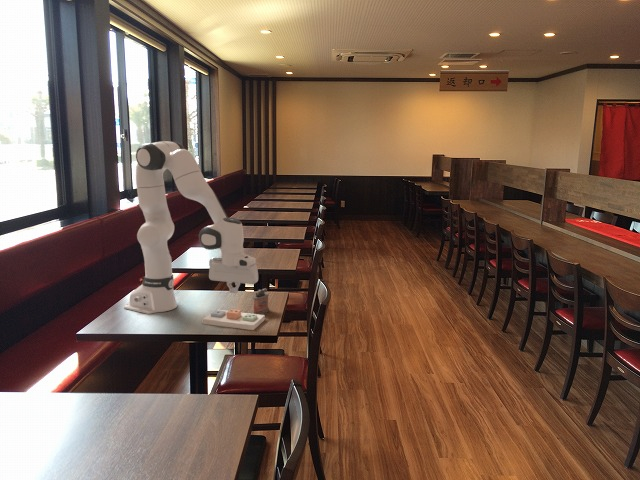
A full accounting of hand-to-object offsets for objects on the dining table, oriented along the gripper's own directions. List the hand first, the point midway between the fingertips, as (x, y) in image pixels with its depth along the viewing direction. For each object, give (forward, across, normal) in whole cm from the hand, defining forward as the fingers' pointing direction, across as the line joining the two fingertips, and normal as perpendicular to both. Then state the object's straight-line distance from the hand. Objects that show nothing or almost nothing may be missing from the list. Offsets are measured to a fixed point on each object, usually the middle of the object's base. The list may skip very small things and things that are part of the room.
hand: (233, 292), depth 204 cm
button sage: (+12, +7, 0) cm, 14 cm away
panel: (+12, 0, 0) cm, 12 cm away
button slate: (+12, -7, 0) cm, 14 cm away
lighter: (+13, +6, +14) cm, 20 cm away
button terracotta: (+11, 0, 0) cm, 11 cm away
